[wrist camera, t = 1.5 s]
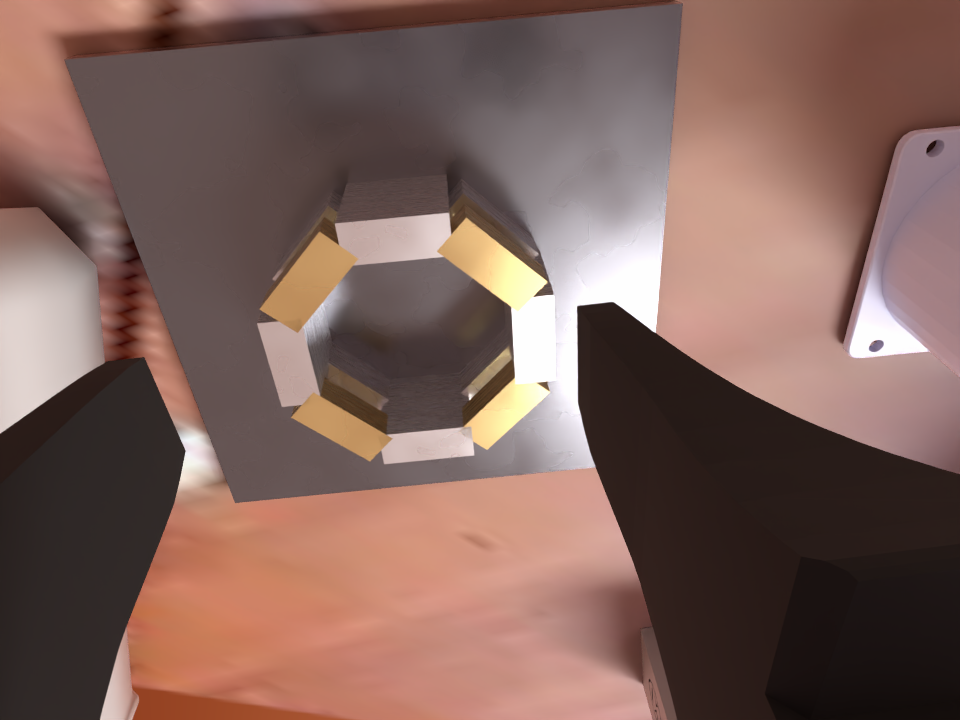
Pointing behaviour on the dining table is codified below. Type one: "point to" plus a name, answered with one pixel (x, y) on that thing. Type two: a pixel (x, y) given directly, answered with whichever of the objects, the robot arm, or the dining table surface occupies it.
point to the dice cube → (655, 678)
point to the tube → (50, 348)
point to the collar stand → (393, 233)
